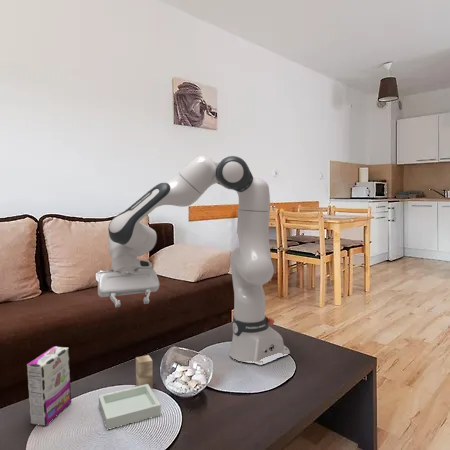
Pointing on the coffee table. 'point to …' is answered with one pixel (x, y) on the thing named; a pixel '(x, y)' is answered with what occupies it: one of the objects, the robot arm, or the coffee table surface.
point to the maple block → (144, 371)
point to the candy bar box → (49, 385)
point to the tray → (129, 406)
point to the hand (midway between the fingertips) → (132, 304)
